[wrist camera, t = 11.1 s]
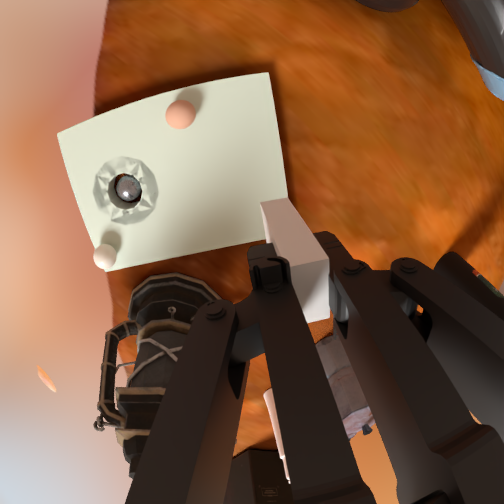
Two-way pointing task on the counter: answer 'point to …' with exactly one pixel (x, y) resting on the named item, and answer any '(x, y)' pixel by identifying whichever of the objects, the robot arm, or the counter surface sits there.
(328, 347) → the moka pot
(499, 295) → the wine bottle
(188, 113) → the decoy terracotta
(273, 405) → the cosmetic bottle
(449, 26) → the counter surface
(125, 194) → the steel ball
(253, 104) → the board
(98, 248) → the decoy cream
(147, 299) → the lantern
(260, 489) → the black rectangular block
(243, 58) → the counter surface
